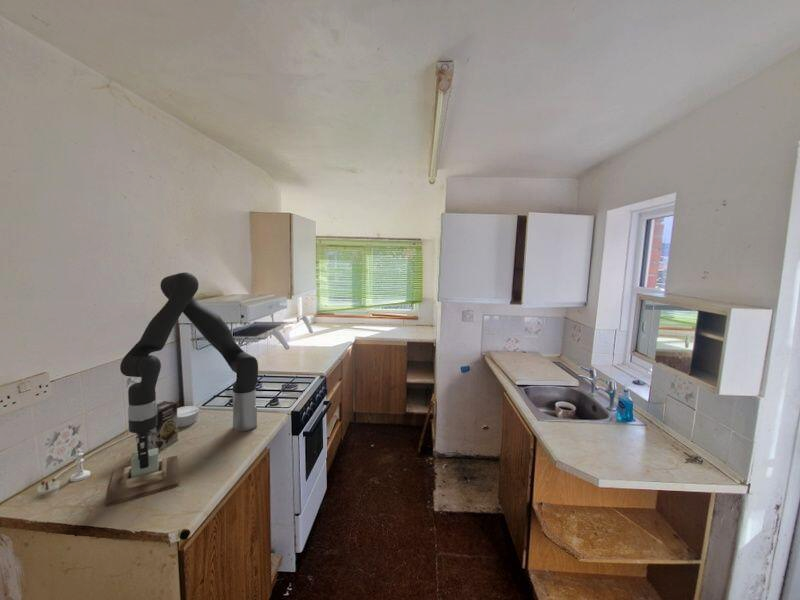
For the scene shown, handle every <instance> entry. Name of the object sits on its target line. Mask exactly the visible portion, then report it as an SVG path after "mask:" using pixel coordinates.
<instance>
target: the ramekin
mask: <svg viewBox="0 0 800 600" xmlns="http://www.w3.org/2000/svg"><path fill="white" fill-rule="evenodd" d="M199 413H200V408H199V407H198V406H195V405H185V406H180V407H177V426H178V428H182V427H188V426H190V425H193V424H194V423H196V422H197V420H198V418H199V417H198V416H199Z"/></svg>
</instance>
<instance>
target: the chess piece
mask: <svg viewBox="0 0 800 600" xmlns="http://www.w3.org/2000/svg"><path fill="white" fill-rule="evenodd" d="M83 456H84V452H83V449H81V447H80V448H77V449H76V450H75V454H74V458H75V459H76V460H75V461H74V463H75V464H77V466H76V472H75V473H73V474H72V475H71V476H70V479H69V480H70V481H71V482H80V481H82V480H85V479H87V478H88V477H90V476H91V471H90V470H87V469H84V466H83V462H84V461H85V460H84V458H83Z"/></svg>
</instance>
